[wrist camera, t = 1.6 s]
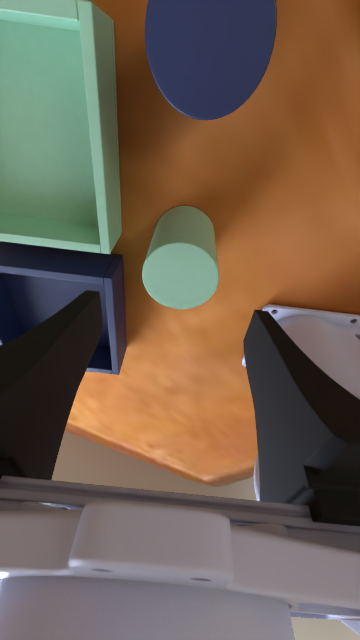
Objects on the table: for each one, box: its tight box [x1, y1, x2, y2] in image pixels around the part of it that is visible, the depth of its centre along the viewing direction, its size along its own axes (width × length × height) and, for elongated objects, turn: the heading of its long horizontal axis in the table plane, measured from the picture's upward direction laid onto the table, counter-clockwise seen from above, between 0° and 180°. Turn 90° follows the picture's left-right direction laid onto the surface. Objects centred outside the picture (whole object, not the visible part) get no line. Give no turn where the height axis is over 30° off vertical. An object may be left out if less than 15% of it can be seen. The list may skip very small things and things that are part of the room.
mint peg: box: [142, 206, 219, 309], centre depth 17 cm, size 4×4×6 cm
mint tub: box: [0, 0, 122, 254], centre depth 15 cm, size 11×11×4 cm
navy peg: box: [145, 0, 277, 120], centre depth 11 cm, size 4×4×6 cm
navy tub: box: [0, 241, 126, 375], centre depth 23 cm, size 11×11×4 cm
